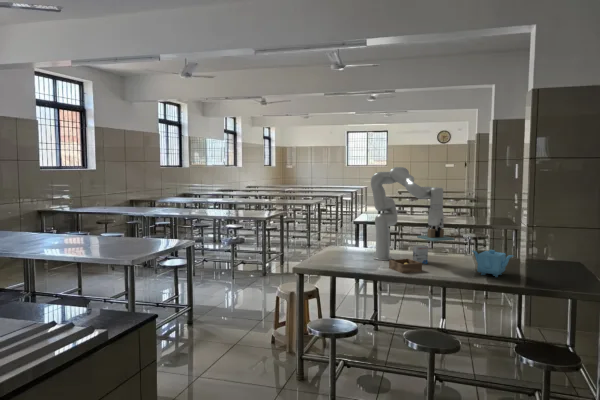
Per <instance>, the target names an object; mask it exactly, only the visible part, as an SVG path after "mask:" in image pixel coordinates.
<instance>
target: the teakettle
mask: <svg viewBox="0 0 600 400" xmlns="http://www.w3.org/2000/svg"><path fill="white" fill-rule="evenodd" d="M470 251H471V252H472V253H473V255H474V256H475V261H476V263H477V269H476V270H477V273H480V276H486V275H487V274H489V275H492V277H493V276H495V277H494V278H499V276H501V275H503V273H504V272H505V271H506V267H507V266H508V264H509V261H510V259H511V258H512V257H514V255H512V254H509V255H507V253H505V252H499V251H496V250H495V249H489V250H485V251H482V252H480V253H478V252H477V250H472V249H471V250H470Z"/></svg>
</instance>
